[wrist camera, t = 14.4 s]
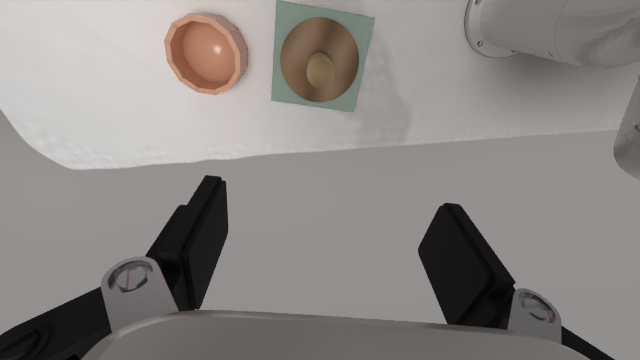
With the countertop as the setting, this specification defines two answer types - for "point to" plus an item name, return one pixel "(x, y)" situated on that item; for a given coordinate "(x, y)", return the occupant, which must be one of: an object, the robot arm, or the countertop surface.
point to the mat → (295, 14)
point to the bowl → (206, 52)
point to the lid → (319, 59)
